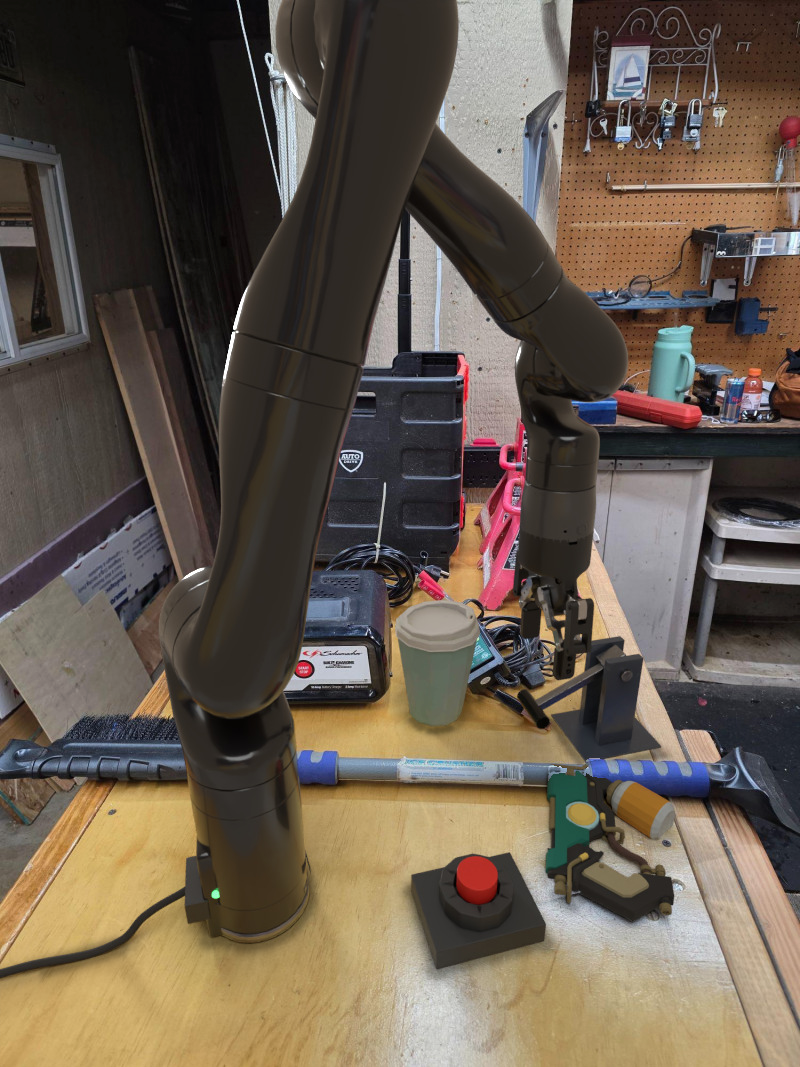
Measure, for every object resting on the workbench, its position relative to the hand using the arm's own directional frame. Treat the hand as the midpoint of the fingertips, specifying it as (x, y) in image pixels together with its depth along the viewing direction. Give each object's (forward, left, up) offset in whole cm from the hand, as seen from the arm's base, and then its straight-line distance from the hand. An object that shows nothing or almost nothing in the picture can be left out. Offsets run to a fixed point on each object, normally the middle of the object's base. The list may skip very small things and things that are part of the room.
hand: (545, 656), depth 77 cm
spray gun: (0, -14, -14) cm, 20 cm away
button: (-15, -18, -10) cm, 26 cm away
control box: (-15, -18, -14) cm, 27 cm away
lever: (+5, +1, -6) cm, 8 cm away
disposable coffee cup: (-9, +11, -14) cm, 20 cm away
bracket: (+9, +1, -14) cm, 17 cm away
